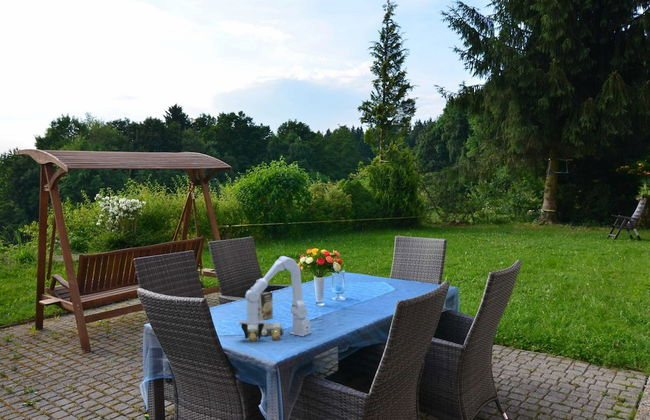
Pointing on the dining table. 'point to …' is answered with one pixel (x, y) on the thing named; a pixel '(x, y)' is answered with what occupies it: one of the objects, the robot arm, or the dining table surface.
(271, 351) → the dining table surface
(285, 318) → the dining table surface
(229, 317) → the dining table surface
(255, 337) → the cylinder
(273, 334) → the cylinder
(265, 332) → the scale
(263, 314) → the coffee box
